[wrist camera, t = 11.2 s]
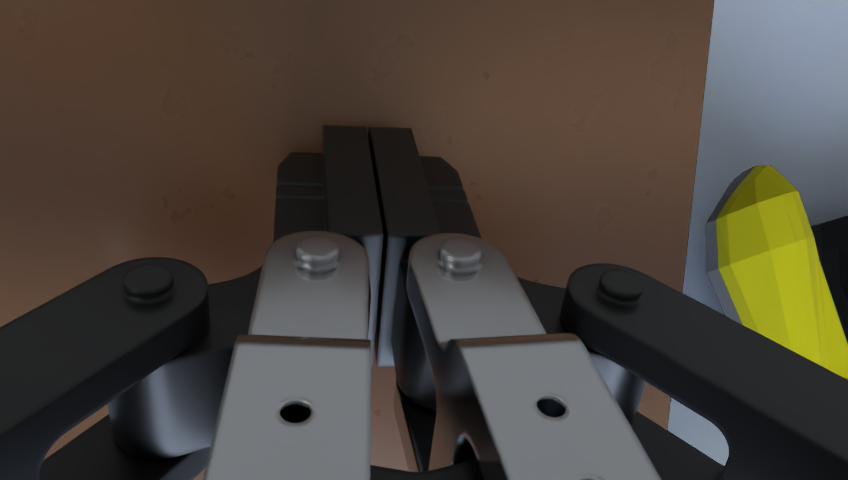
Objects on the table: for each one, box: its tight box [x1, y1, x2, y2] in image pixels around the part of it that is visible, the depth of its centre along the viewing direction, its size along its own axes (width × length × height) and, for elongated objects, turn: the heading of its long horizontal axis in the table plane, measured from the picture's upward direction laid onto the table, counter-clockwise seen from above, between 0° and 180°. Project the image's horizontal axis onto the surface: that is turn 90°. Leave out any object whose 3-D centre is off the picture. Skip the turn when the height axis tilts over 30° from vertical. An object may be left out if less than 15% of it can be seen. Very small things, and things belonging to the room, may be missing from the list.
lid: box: [0, 0, 714, 480], centre depth 14 cm, size 17×13×1 cm
